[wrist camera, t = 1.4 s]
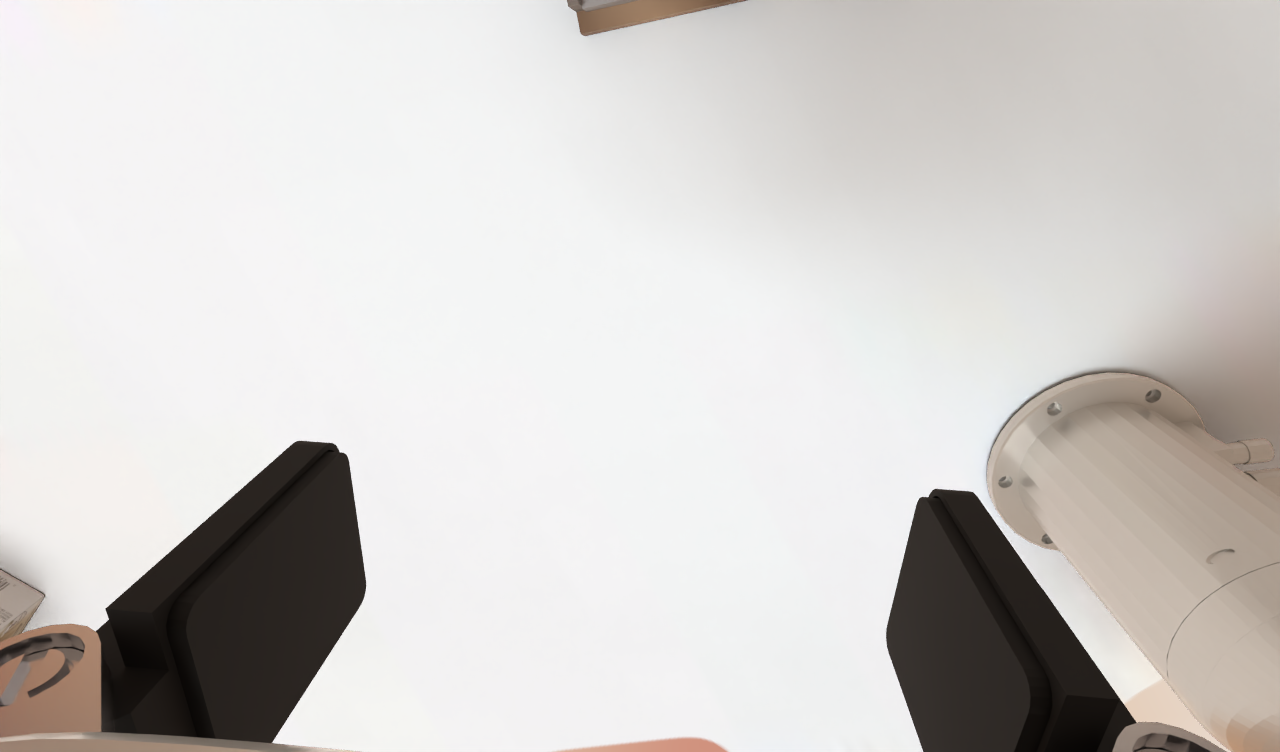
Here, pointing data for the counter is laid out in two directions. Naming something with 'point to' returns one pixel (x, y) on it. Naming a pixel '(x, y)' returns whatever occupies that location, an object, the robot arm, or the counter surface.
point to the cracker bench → (633, 12)
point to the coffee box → (16, 605)
